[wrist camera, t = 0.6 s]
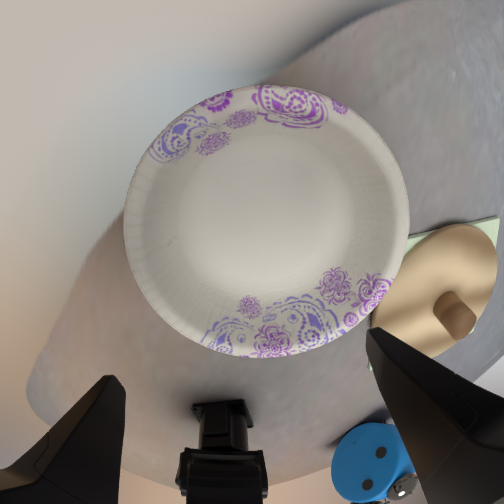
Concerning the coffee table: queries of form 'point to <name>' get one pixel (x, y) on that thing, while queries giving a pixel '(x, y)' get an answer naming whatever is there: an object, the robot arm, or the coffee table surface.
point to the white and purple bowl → (266, 221)
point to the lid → (439, 289)
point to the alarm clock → (373, 465)
